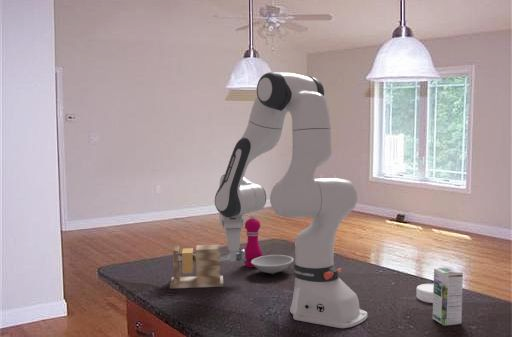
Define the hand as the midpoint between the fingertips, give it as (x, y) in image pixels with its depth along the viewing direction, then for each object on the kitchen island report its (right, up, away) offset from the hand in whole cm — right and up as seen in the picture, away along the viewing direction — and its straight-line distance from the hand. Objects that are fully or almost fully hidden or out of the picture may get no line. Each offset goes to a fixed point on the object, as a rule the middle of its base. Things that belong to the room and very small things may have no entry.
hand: (232, 258), depth 188 cm
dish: (+14, -8, +11) cm, 19 cm away
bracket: (-12, -9, 0) cm, 15 cm away
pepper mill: (+7, -7, +22) cm, 24 cm away
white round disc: (+63, -10, -19) cm, 67 cm away
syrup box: (+61, -11, -39) cm, 73 cm away
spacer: (-16, -1, -1) cm, 16 cm away
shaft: (-8, -2, -1) cm, 8 cm away
